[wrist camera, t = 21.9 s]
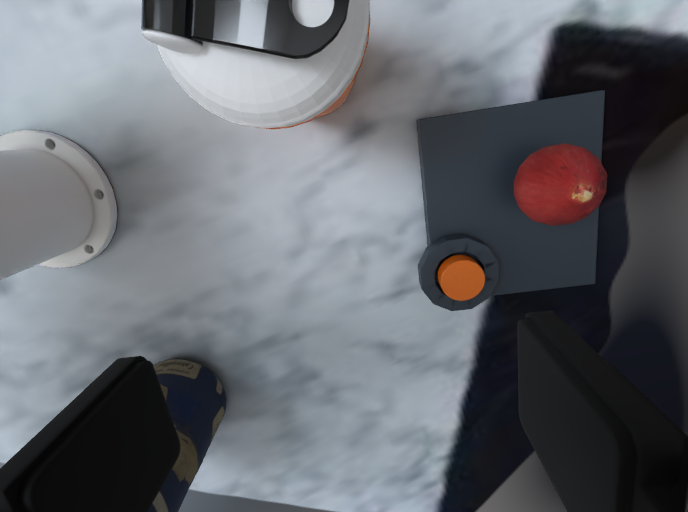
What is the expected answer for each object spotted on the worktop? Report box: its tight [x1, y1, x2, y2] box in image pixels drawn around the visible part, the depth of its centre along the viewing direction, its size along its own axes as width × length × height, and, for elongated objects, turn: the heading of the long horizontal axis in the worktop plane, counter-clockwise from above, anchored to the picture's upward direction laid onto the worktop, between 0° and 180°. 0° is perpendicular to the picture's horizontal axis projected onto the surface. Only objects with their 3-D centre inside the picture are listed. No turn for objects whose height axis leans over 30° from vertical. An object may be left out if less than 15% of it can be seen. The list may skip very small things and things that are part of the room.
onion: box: [514, 144, 607, 226], centre depth 28 cm, size 6×6×8 cm
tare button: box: [438, 255, 485, 301], centre depth 32 cm, size 4×4×2 cm
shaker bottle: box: [141, 0, 370, 129], centre depth 22 cm, size 9×9×20 cm
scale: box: [417, 90, 605, 311], centre depth 33 cm, size 15×16×4 cm
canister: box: [148, 359, 226, 512], centre depth 34 cm, size 10×10×18 cm
